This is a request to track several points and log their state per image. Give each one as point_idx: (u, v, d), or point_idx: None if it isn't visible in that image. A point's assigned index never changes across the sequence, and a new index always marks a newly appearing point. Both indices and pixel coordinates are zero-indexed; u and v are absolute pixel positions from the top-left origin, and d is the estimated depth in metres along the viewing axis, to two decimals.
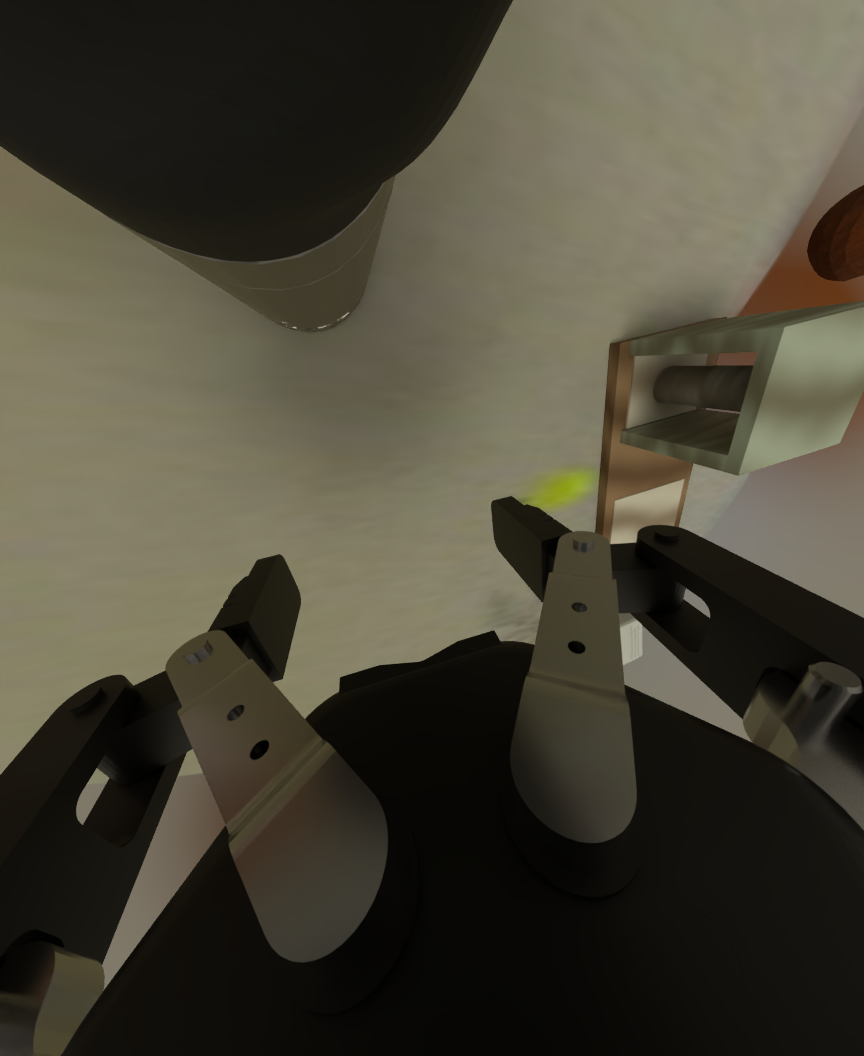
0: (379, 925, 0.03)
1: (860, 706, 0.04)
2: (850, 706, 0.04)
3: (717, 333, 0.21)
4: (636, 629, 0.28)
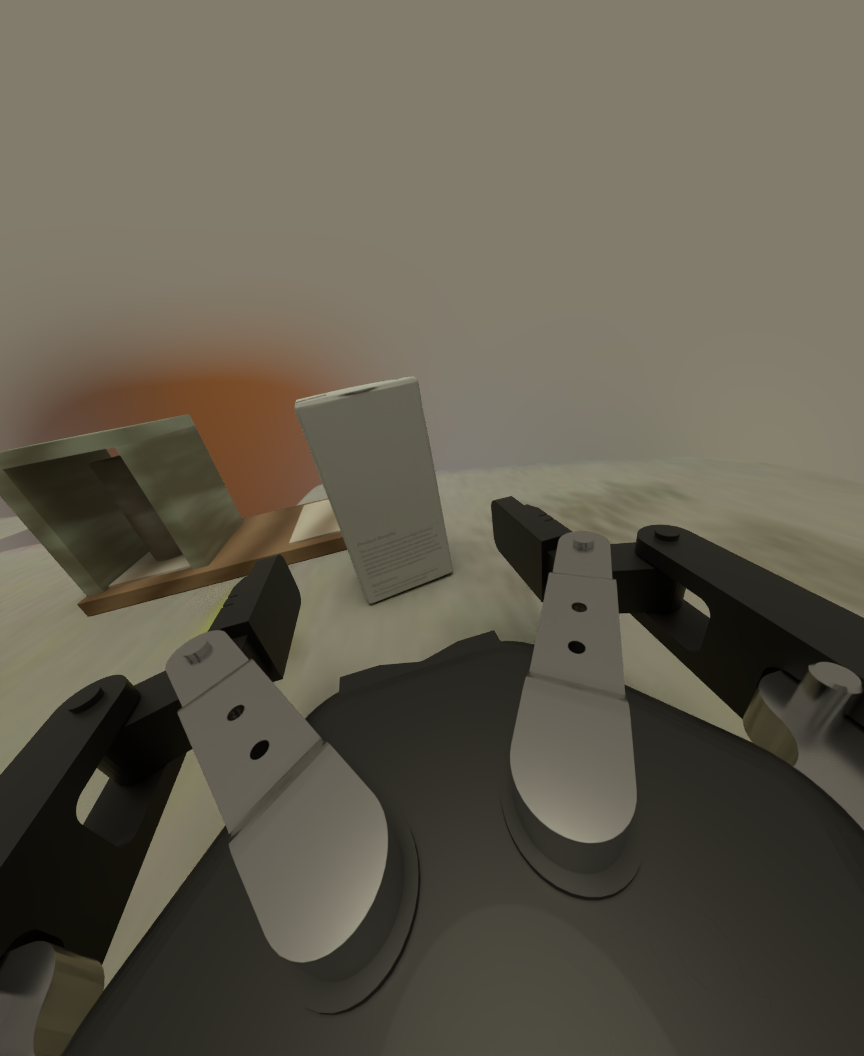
0: (379, 925, 0.03)
1: (859, 705, 0.04)
2: (850, 706, 0.04)
3: (16, 511, 0.21)
4: None
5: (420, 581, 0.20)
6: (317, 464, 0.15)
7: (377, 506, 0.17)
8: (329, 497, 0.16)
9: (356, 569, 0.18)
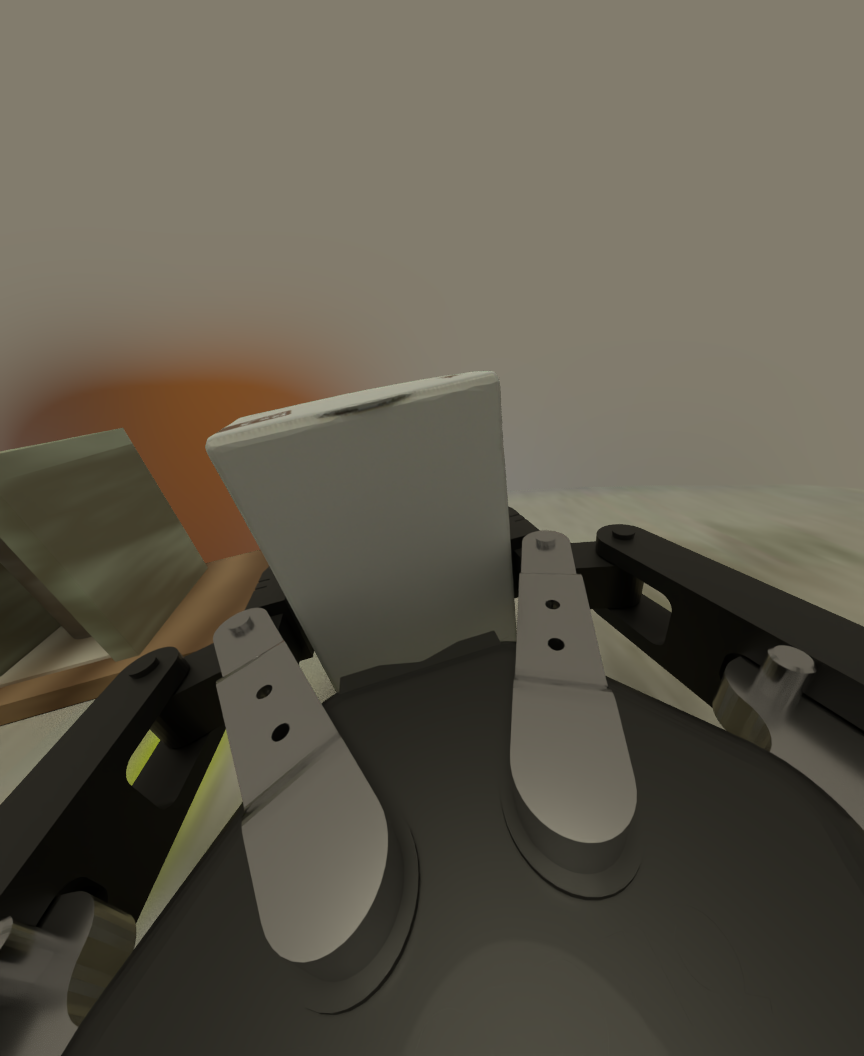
0: (379, 925, 0.03)
1: (813, 682, 0.05)
2: (806, 685, 0.05)
3: None
4: None
5: None
6: (273, 568, 0.07)
7: (401, 629, 0.08)
8: (303, 626, 0.07)
9: None
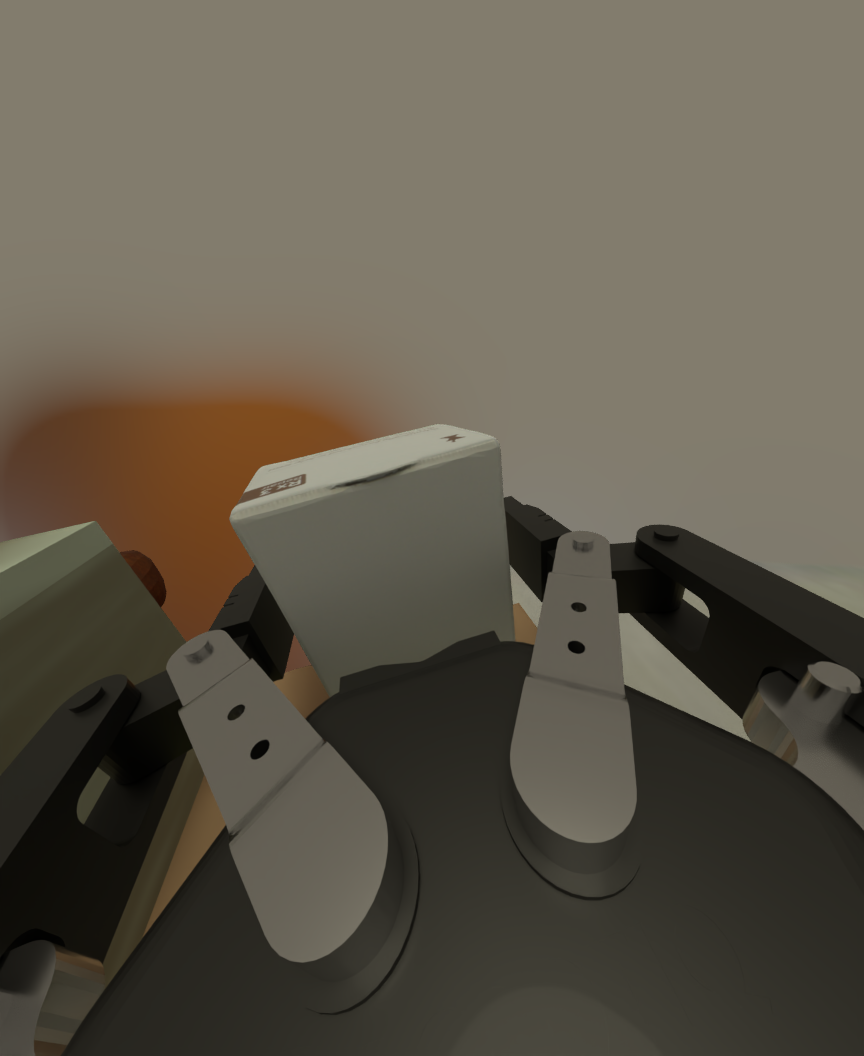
0: (379, 925, 0.03)
1: (859, 705, 0.04)
2: (849, 706, 0.04)
3: None
4: (300, 459, 0.09)
5: None
6: (287, 619, 0.07)
7: None
8: (314, 668, 0.08)
9: None
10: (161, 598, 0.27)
